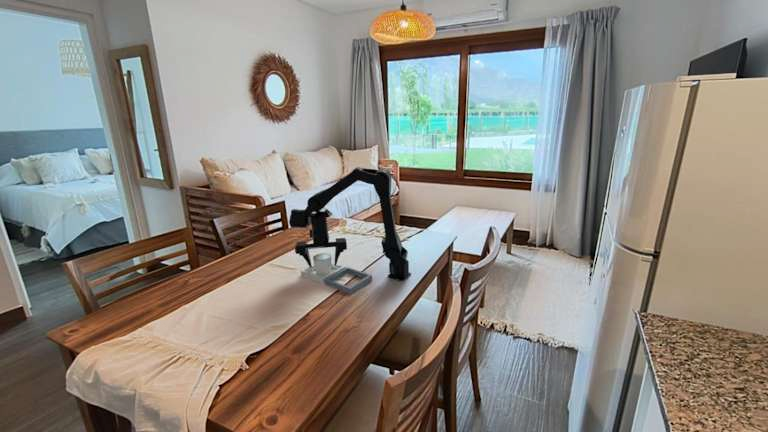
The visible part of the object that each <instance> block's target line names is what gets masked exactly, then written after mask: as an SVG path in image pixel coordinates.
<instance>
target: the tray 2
mask: <svg viewBox="0 0 768 432" xmlns="http://www.w3.org/2000/svg"><path fill="white" fill-rule="evenodd" d="M347 274H348V275H349V274H350V275H353V276H355V277H359V278H361V280H358V282H356V283H354V284H353V285H351V286H348V285H345V284H342V283H339V282H336V281H337V280H338V279H340V278H342V277H344V276H345V275H347ZM371 281H373V274H371V273H367V272H364V271H361V270H357V269H354V268H351V267H349V266H347V267H346V268H345V269H343V270H341V271H340V272H338V273H336V274H334V275H332V276H330V277H329V278H327V279H325V283H324V284H325V286H328V287H330V288H333V289H336V290H338V291H342V292H344V293H347V294H349V295H351V294H353V293H354V292H356V291H358V290H359V289H361V288H362V287H364V286H365V285H367V284H369V283H370V282H371Z"/></svg>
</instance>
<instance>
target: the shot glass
mask: <svg viewBox="0 0 768 432" xmlns="http://www.w3.org/2000/svg"><path fill="white" fill-rule="evenodd" d="M312 260H313V264H314V265H315V270H314V271H315V275H318V276H321V277H325V276H326V275H328V274H330V273H332V268H331V262H332V254H330V253H327V252H324V253H317V254H315V255H313V258H312Z"/></svg>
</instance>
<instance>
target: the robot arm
mask: <svg viewBox="0 0 768 432" xmlns="http://www.w3.org/2000/svg"><path fill="white" fill-rule="evenodd" d="M358 181H359V182H362V183H366V184H369V185H372V186H373V187H374V190H375V192H376V194H377V196H378V198H379V204H380V210H381V216H382V217H381V218H382V222H383V228H384V234H385V236H383V237H382V240H381V247H382V254H384V255H385V257H386V258H387V259H388V260H389V263H388V265H389V267H388V268H389V270H388V271H389V272H388V273H389V274H388V275H387V277H388V278H391V279H394V280H397V281H400V282H403V281H404V280H405V279H407V278H408V277H410V276H411V275H412V273H411V272H409V271H410V270H409V269H410V268H409V266H410V265H409V264H410V262H409V260H407V258H408V252H409V250H407V249H406V248H405V247H404V246H403V244H402V241H401V238H400V236H399V234H398V232H397V226H396V222H395V216H394V209H393V203H392V193H391V192H392V173H391V171H389V170H388V169H386V168H379V169H375V168H364V167H360V166H359V167H358V166H357V167H355V168H354V169H352V170H351V172H349V173H348V174H346V175H345V176H344V177H342V178H340V180H338V181H336V182H335V183H334V184H332V185H331V186H329V187H328V188H326V189H322V190H321V191H318V192H316V193H315V194H313V195H311V197H309V198H308V199H307V206H306V208H305V209H295V208H293V209H291V211H290V216H289V220H288V222H289V226H290V228H292V229H295V228H296V229H302V228H303V229H307V228H309V226H311V229H309V238H310V239H311V238H312V243H308V242H307V240H301V241H297V242H295V246H294V252H295V254H296V255H298V256H301V257H303V259H304V260H305V261H306V263H307V265H308V267H310V268H311V265H312V261H311V256H310V250H313V249H325V248H335V250H334V263H335V266H336V264H338V259H339V257H340V255H341V253H344V251H346V250H347V249H348V245H347V239H346V237H339V238H338V237H337V238H335V241H330V235H329V229H328V228H329V227H328V219H327V218H330V217H331V216H332V215H333V213H332V212H331V211H330V210H329V209H328V208H325V207H326V206H327V205H328V204H329V203H330V202H331V201H332V200H333V199H334V198H335V197H336V196H338V195H339V194H341V193H342V192H344V191H345V190H346V189H348V188H349V187H351V186H352V185H353V184H355V183H356V182H358ZM324 208H325V210H324V211H323V209H324Z"/></svg>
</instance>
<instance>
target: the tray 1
mask: <svg viewBox="0 0 768 432" xmlns="http://www.w3.org/2000/svg"><path fill="white" fill-rule="evenodd" d="M345 268H347V267H346V266H345V265H342V264H339V263H337V264H336V266H335V262H333V261H331V269H334V271H331V273H330V274H328V275H326V276H325V277H321V276H318V275H316V273H312V272H314V271H316V270H315V265H314V263H313V264H311V268H310V267H309V266H307V267H305V268H303V269H301V270H300V276H302V277H304V278H307V279H309V280H313V281H315V282H316V283H317V282H318V283H320V284H323V285H324V284H325V279H327V278H329V277H330V276H332V275H334V274H336V273H338V272H340V271H341V270H343V269H345Z"/></svg>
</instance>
